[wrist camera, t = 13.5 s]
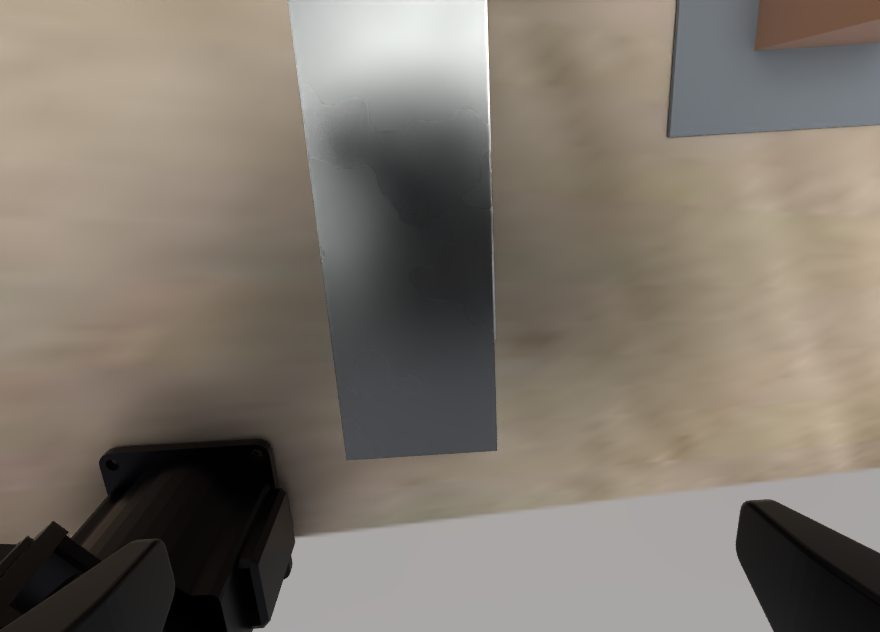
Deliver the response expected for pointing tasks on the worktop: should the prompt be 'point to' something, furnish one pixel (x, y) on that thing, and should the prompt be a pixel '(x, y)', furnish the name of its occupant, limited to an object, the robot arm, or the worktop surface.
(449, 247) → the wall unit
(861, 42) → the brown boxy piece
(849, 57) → the mat
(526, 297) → the worktop surface
